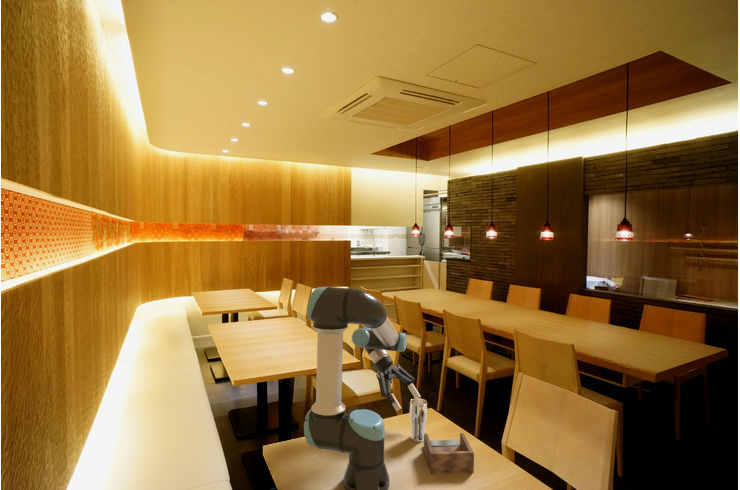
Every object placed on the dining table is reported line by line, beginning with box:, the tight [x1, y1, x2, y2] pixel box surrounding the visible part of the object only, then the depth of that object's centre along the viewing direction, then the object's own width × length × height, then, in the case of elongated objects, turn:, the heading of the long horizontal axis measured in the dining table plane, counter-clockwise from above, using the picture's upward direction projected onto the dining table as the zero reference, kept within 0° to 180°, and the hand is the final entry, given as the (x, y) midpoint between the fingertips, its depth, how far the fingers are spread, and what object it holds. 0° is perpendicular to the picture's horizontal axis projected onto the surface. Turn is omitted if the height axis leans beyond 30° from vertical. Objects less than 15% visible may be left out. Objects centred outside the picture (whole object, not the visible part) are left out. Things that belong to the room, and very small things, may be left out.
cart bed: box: [423, 432, 475, 475], centre depth 146 cm, size 15×17×7 cm
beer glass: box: [409, 397, 428, 443], centre depth 159 cm, size 7×7×15 cm
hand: (409, 403), depth 163 cm, fingers open, 13 cm apart
